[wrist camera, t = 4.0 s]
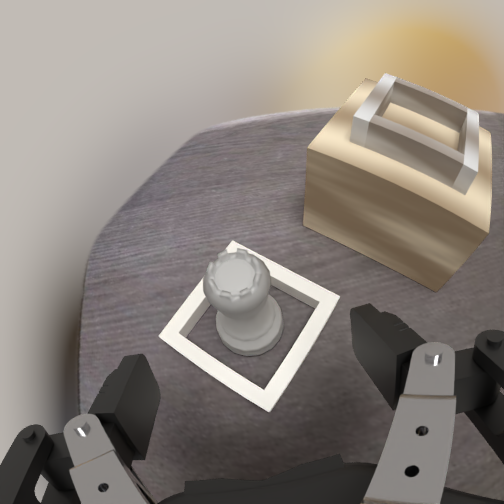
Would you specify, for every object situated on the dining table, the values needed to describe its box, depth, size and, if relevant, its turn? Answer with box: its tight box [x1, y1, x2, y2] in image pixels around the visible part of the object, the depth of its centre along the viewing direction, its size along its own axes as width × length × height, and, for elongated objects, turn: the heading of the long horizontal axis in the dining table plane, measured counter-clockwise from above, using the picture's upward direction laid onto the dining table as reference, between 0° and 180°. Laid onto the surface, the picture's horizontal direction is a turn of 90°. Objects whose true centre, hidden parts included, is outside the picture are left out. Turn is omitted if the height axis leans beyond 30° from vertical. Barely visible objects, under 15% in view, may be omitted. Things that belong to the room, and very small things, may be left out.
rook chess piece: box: [203, 248, 284, 356], centre depth 17 cm, size 4×4×8 cm
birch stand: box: [303, 73, 492, 292], centre depth 20 cm, size 12×12×10 cm
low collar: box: [159, 241, 340, 412], centre depth 20 cm, size 9×9×2 cm
